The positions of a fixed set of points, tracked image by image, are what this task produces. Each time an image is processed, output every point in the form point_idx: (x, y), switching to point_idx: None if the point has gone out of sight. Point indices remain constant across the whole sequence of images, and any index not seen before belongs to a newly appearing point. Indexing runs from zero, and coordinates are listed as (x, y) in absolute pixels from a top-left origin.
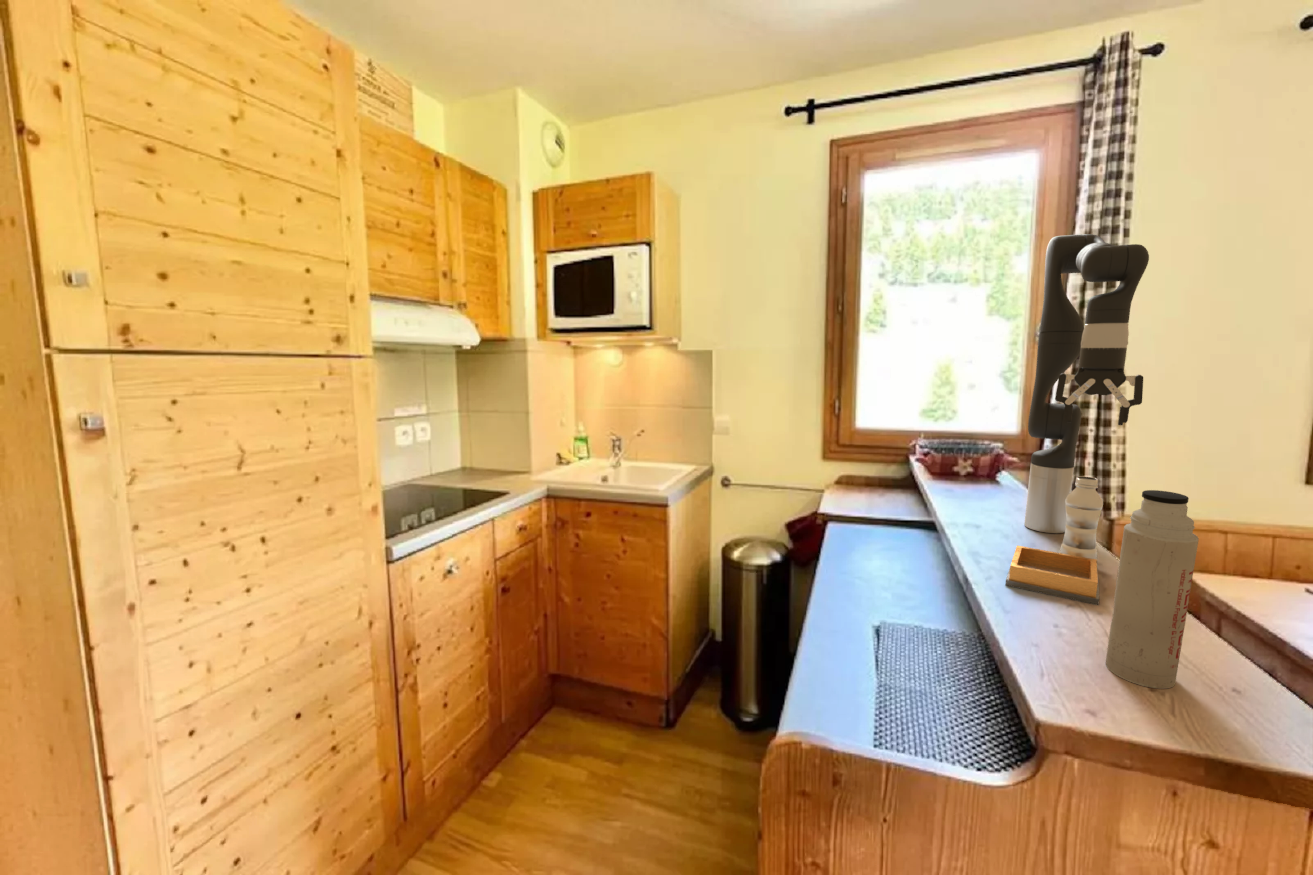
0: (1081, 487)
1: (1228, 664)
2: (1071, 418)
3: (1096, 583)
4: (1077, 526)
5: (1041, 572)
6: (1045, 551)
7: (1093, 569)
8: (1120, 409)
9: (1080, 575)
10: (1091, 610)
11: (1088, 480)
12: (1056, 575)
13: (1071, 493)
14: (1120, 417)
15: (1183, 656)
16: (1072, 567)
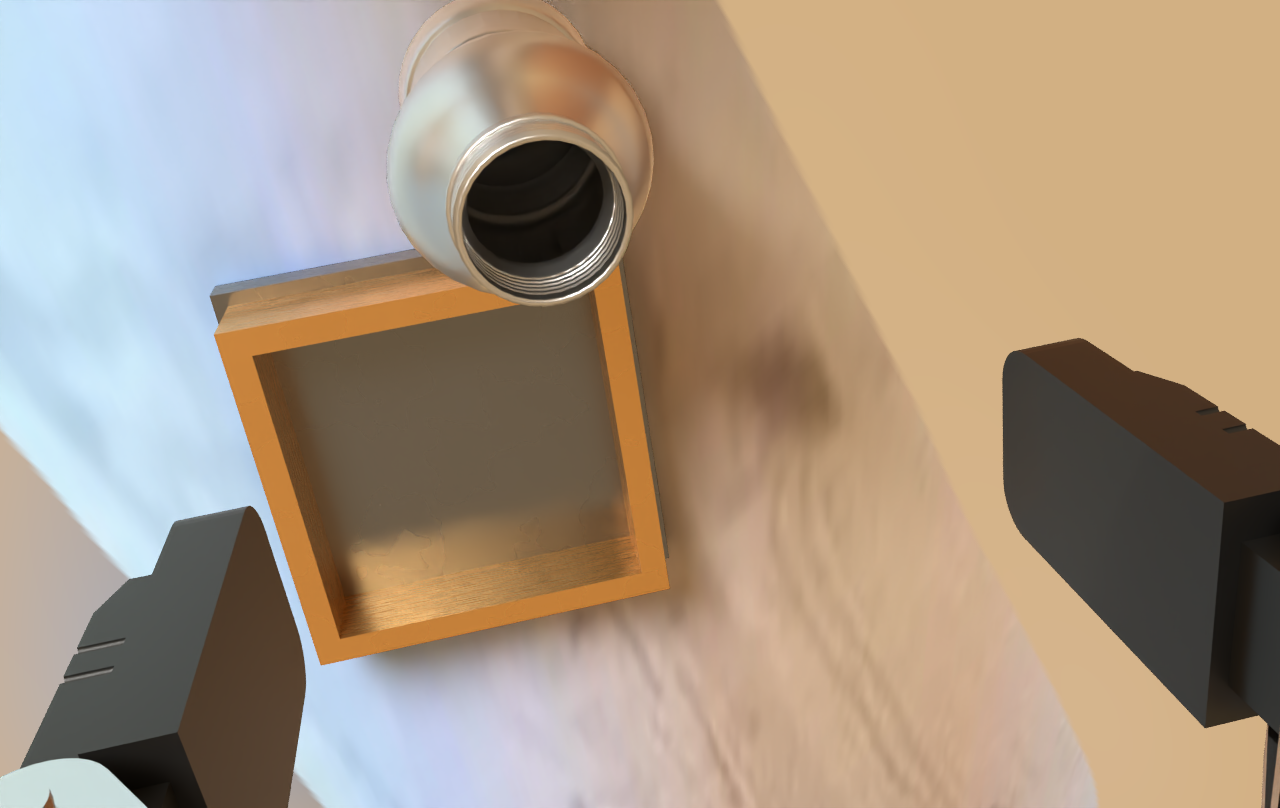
0: (513, 272)
1: (1002, 690)
2: (290, 686)
3: (665, 588)
4: (504, 223)
5: (453, 633)
6: (374, 325)
7: (630, 432)
8: (1178, 693)
9: (557, 325)
10: (650, 607)
11: (569, 298)
12: (514, 621)
13: (436, 245)
14: (1096, 596)
15: (903, 731)
16: None
